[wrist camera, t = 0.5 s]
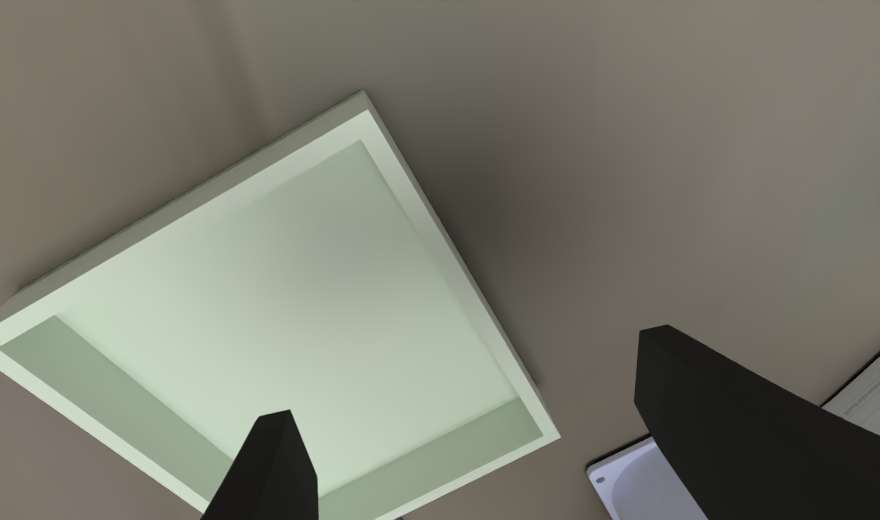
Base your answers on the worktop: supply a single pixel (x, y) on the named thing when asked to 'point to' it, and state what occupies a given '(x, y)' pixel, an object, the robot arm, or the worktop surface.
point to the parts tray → (286, 330)
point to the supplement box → (860, 400)
